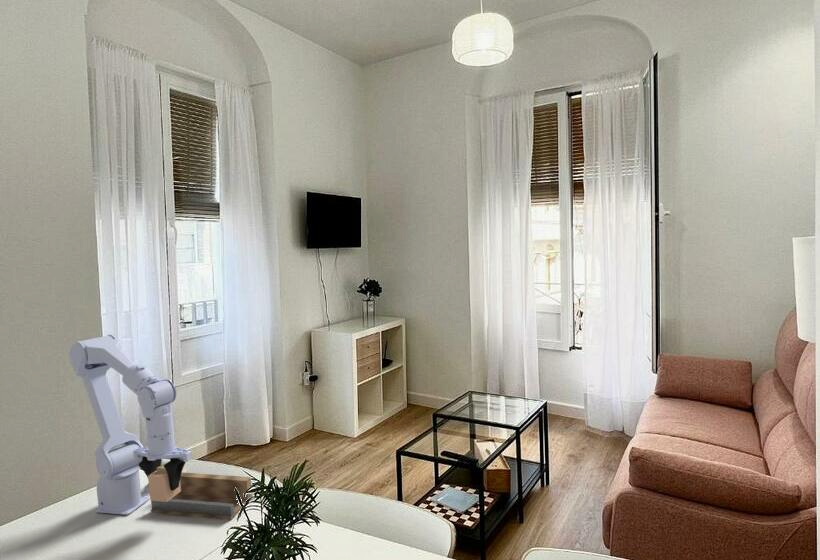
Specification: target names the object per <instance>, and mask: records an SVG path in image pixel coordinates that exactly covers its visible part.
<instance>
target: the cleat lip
mask: <svg viewBox="0 0 820 560" xmlns="http://www.w3.org/2000/svg"><path fill="white" fill-rule="evenodd" d="M150 503H151V504H150V506H151V510H152V509H153V510H164V511H176V512H187V513H199V514H210V515H222V516H232V515H233V514H234V504H230V503H218V502H205V501H193V500H180V499H170V500H169V501H168V502H161V501H151V500H150Z"/></svg>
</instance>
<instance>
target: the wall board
mask: <svg viewBox="0 0 820 560" xmlns="http://www.w3.org/2000/svg"><path fill="white" fill-rule="evenodd" d="M250 478H251V479H250ZM180 485H181V492H179V493H178V494H177V495H175V496H174V497H173V498H171V499H180V500H193V501H205V502H218V503H230V504H234V514H233V515H232V516H222V515H210V514H199V513H187V512H176V511H164V510H153V509H152V508H151V510H150V513H151V514H156V515H157V514H158V515H167V514H168V516H169V515H170V516H178V515H180V516H181V517H189V516H194V517H193V518H201V517H203V519H216V520H225V521H232V520H233V519H234V518H235V517H236V516H237V515H238V514H239V513H240V512H241V511H240V509H241V506H240V505H239V503H238V500H236V499H237V498H236V493H235V491H234V487H236V488H237V490H238V491H239V495H240V497H241V499H242V503H243V504H245V502H246V500H247V499H248V498H250V497H252V498H253V493H252V494H247V495H246V497H243V493H244V492H245V491H246V490H247V489H248V488H249V487H250V485H251V486H252V477H251V476H237V475H236V476H235V475H226V474H225V475H224V474H223V475H222V474H210V473H196V472H186V473H183V472H182V473H181V477H180ZM237 503H238V504H237ZM239 511H240V512H239ZM238 512H239V513H238ZM180 516H179V517H180Z"/></svg>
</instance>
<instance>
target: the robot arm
mask: <svg viewBox="0 0 820 560" xmlns="http://www.w3.org/2000/svg"><path fill="white" fill-rule="evenodd" d="M69 359H70V362H71V365H72V368H73V371H74V373H75V375H76V377H80V378H82V381H83V385H84V388H85V389H86V394H87V396H88V399H89V403H90V405H91V408H92V411H93V413H94V416H95V420H96V421H97V424H98V429H99V431H100V435H101V437H102V441H101V442H100V443H99V445H98V446H97V448H96V449H95V451H94V455H95V456H94V457H95V461H96V462H95V463H96V466H95V467H96V470H97V473H98V474H99V475H100V476H99V478H98V480H97V483H96V497H97V505H98V508H97V509H95V512H96V513H101V514H102V513H103V514H113V515H123V516H128V515H130V514H131V513H133V512H134V511H135V510H137V509H138V508H139V507H141V506H142V505H144V504H145V503H146V502H148V501H149V500H150V496H142V490H141V479H140V469H141V470H142V471H143V473H144V474H145V475H146V478H148V476H149V475H150V474H152V473H153V472H155V471H156V470H157V467H159V466H160V467H161V459H170V461H169V462H168V463H166V464H165V465H164V467H165V469H166V471H167V474H168V477H169V485H170V489H171V490H172V491H173V490H175V489H176V488H178V487H179V482H180V477H181V473H182V470H183V467H184V468H185V464H186V463H187V462H189V461H191V460H192V459H193V451H192V450H191V449H190V450H189V449H185V448H182V447H179V446H176V441H175V428H174V427H175V426H174V416H173V405H172V403H173V402H174V401H176V398H177V389H176V387H175V384H174V383H173V382H172V381H171V379H169V378H162V377H161V378H159V377H157V375H155V374H154V373H153V372H152V371H150V370H149V369H148V368H146V366H145V365H143V364H142V363H141V364H140V363H139V364H135V363H134V362H133V361H132V360H131V359H130V358H129V357H128V356H127V355H126V354H125V352H124V351H122V345H121V341H120V339H118V338H117V336H115V335H113V334H108V335H106V336H101V337H94V338H90V339H85V340H76V341H74V342H73V343H72V344H71V346H70V349H69ZM110 369H113V370H114V371H116V372H117V373H118V374H120V375H121V376H122V379H121V380H122V383H123V385H125V386H126V387H127V388H128V389H129V390H130V391H131V392H133V393H134V394H135V395H136V397H137V402H138V404H139V406H140V408H141V411H142V412H141V413H142V416H143V417H144V419H145V426H146V437H147V439H146V440H147V446H145V447H144V445H143V444H142V443H141V442H140V440H139V436H138V435H137V434H134V433H132V432H128V431H126V430H125V426H124V423H123V421H122V417H121V415H120V412H119V409H118V406H117V403H116V401H115V398H114V395H113V392H112V390H111V386H110V383H109V381H108V378H107V372H108V371H109V370H110ZM119 446H120V447H119ZM116 447H117V448H116ZM114 448H115V449H114ZM111 449H112V450H111Z"/></svg>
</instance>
